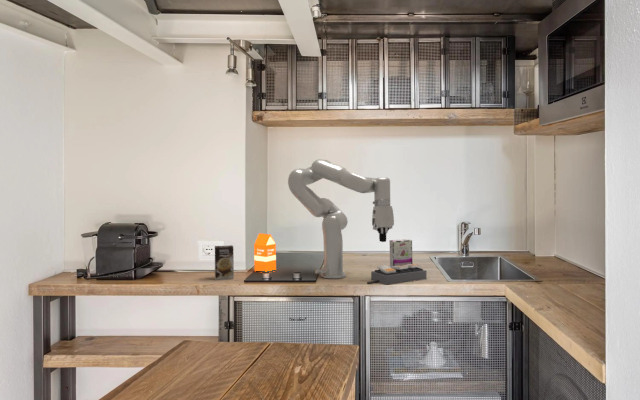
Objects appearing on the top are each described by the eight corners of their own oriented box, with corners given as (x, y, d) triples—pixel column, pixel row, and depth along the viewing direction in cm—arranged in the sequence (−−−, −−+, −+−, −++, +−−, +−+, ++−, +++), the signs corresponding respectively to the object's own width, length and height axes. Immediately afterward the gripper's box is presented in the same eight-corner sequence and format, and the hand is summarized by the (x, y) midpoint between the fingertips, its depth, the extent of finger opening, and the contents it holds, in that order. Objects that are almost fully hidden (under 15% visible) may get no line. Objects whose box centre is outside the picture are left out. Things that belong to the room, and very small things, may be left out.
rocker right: (412, 267, 214) (412, 264, 214) (402, 267, 221) (401, 265, 221) (420, 266, 216) (420, 263, 216) (410, 266, 223) (409, 264, 224)
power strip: (374, 286, 202) (374, 276, 201) (360, 281, 212) (359, 271, 212) (426, 278, 216) (426, 269, 216) (410, 274, 226) (410, 264, 226)
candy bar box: (408, 269, 239) (408, 238, 238) (412, 271, 234) (412, 240, 233) (389, 270, 236) (389, 239, 235) (393, 272, 231) (393, 241, 230)
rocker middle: (399, 269, 211) (399, 266, 211) (389, 269, 218) (389, 266, 218) (408, 268, 213) (408, 265, 213) (398, 268, 220) (397, 265, 220)
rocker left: (386, 274, 207) (387, 271, 207) (377, 268, 214) (377, 265, 214) (395, 272, 210) (395, 270, 209) (385, 267, 216) (385, 264, 216)
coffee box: (215, 280, 218) (214, 247, 217) (214, 277, 224) (214, 245, 223) (234, 279, 220) (233, 246, 219) (233, 276, 227) (232, 244, 226)
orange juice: (266, 273, 233) (265, 235, 232) (254, 271, 238) (253, 234, 237) (276, 270, 239) (275, 233, 238) (264, 268, 244) (263, 232, 243)
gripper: (373, 204, 206) (374, 243, 207) (399, 203, 213) (400, 241, 214) (364, 203, 213) (365, 241, 214) (390, 202, 220) (390, 239, 220)
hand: (382, 241), depth 214 cm, fingers closed
